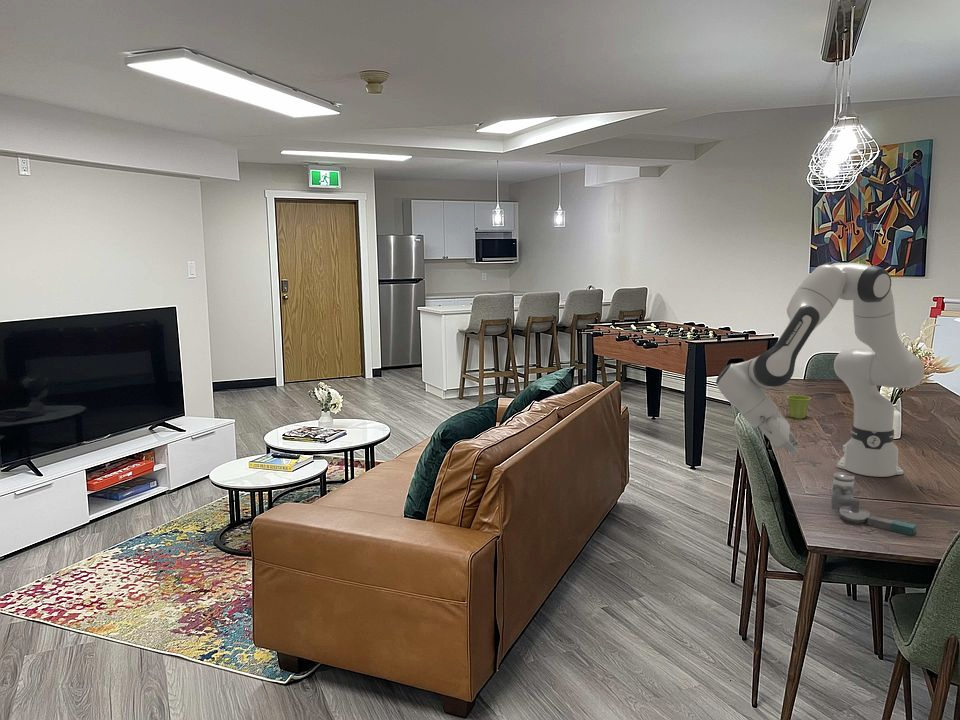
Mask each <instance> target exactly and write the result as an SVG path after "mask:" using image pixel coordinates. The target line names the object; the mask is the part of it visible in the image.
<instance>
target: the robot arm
mask: <svg viewBox="0 0 960 720" xmlns="http://www.w3.org/2000/svg"><path fill="white" fill-rule="evenodd" d="M891 287H892V277H891V276H890V273H889V272H888V271H887V270H886V269H884V268H883V267H880V266H878V265H869V264H864V263H861V262H839V261H830V262H826V263H823V264H820V265H818V266H817V267H816V268H814V270H812V271H811V272H810V274H809V275H807V276H806V278H805V279H804V280H803V281H802V282H801V283H800V285H799V286H798V288H797V289H796V290H795V292H794V294H792V296H791V299H790V301H789V302H788V305H787V308H786V315H787V317H788V319H789V322H788V324H787V326H786V327H785V329H784V331H783V332H782V334H781V335H780V337H779V338H778V340H777V342H776V343H775V344H774V345H773V346H772V347H771V348H769V349H767V350H765V351H764V352H762V353H761V354H759V355H758V356H756V357H754V358H751V359H749V360H748V359H747V360H746V361H742V362H741V361H740V362H738V363H729V364H727V365H726V366H725V367H724V368H723V369H722V370H721V372H720V373H719V375H718V376H717V377H716V382H715V384H716V387H717V388H718V390H719V392H720V393H721V394H722V396H723V397H724V398H725V399H726V401H728V402H729V403H730V404H731V405H732V406H733V407H735V408H737V410H738V411H739V413H740V415H741V416H742V417H743V418H744V419H745V420H746V421H747V422H748V423H749V425H751V426H752V427H753V428H754V429H755V428H757V427H758V428H760V430H761V431H762V434H764V435H765V437H766V438H767V439H768V440H769V441H770V442H771V443H772V445H774V447H775V448H776V449H778V450H780V449H782V448H783V449H784V450H785V451H787V452H788V453H790V455H792V456H793V457H797V456H798V455H799V450H798V449H797V447H799V445H800V441H798V440H797V439H796V437H795V436H794V434H793V433H792V431H791V425H790V423H789V422H788V420H787V419H786V418H785V416H783V414H782V413H781V412H780V411H779V410H778V409H779V406H777V404H776V403H775V402H774V401H773V400H772V399H770V398H769V397H768V395H767V394H766V391H767V390H768V389H771V388H775V387H781V386H783V385H784V384H787V383H788V382H789V381H790V380H791V378H792V377H793V375H794V371H795V365H796V362H797V361H796V360H797V357H798V355H799V354H800V351H801V350H802V348H803V346H804V345H805V344H806V342H807V341H808V339H809V338H810V336H811V334H812V333H813V331H814V330H816V328H817V327H819V326H820V325H821V324H822V323H823V322H824V321H825V319H826V318H827V317H828V316H829V314H830V313H832V310H833V309H834V307H835V306H836V304H837V302H838V301H839V300H844V301H852V303H853V304H852V305H853V306H852V308H853V309H852V311H853V325H854V334H855V336H856V338H857V339H858V340H859V341H860V342H861V343H863V344H864V345H866V346H868V347H869V348H870V349H864V348H853V349H852V348H849V349H843V350H841V351H840V352H838V354H837V355H836V356H835V358H834V361H833V370H834V372H835V374H836V376H837V377H838V379H840V380H841V381H842V382H843V383H844V384H845V385H846V386H847V388H848V390H849V392H850V394H851V397H852V401H853V425H851V429H850V433H851V434H850V437H851V438H850V439H849V440H848V441H847V442H845V444H843V445H842V452H844V453H843V456H842V457H841V458H840V459H839V461H838V462H837V463H836V467H837V468H839V469H842V470H845V471H849V472H851V473H852V474H853V473H854V474H856V475H857V474H858V475H861V476H867V477H880V478H882V477H883V478H886V477H891V476H892V477H893V476H896V475H904V470H903V469H902V467H901V468H900V467H899V465H898V464H899V463H898V462H899V459H898V457H899V448H898V447H897V445H895V443H894V439H895V430H894V428H893V427H894V418H895V417H894V416H895V407H894V405H893V403H892V402H891V401H890V399H888V398H887V397H885V396H883V395H882V394H881V392H880V391H879V390H878V386H879V387H884V388H885V387H886V388H894V389H908V388H915V387H916V386H918V385H919V384H920V383H921V381H922V380H923V378H924V374H925V366H924V364H923V361H922V360H921V359H920V358H919V356H917V355H915V354H913V353H912V352H911V351H910V350H909V349H908V348H907V347H906V346H905V344H904V343H903V342H902V340H901V338H900V337H899V334H898V331H897V324H896V316H895V315H896V314H895V312H896V311H895V303H894V302H895V301H894V295H893V291H892V288H891Z"/></svg>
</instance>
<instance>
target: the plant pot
mask: <svg viewBox="0 0 960 720" xmlns="http://www.w3.org/2000/svg"><path fill="white" fill-rule="evenodd" d="M786 398H787V401H788V409H789V412H788V413H789V417H790V418H794V419H796V420H797V419H801V420H802V419H806V417H807V412H808V408H809V403H810V401H811V400H812V398H811V397H810V396H806V395H799V394H798V395H797V394H796V395H787V396H786Z"/></svg>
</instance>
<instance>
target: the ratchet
mask: <svg viewBox="0 0 960 720" xmlns="http://www.w3.org/2000/svg"><path fill="white" fill-rule="evenodd" d="M860 503H861V501H860V499H858V498H854V499H852V498H851V506H843V507H841V508H840V509H839V513H838V514H839V515H838V517H839V518H840V519H841V520H840V519H839V520H840V521H842V522H844V523H846V524H850V525H855V524H856V526H863V525H862V524H865V525H867V524H868V525H867V526H870V525H871V526H872V527H875V526H876V527H875V528H879V527H880V529H884V530H886V531H887V530H888V531H890V532H894V533H899V534H902V535H903V534H904V535H908V536H911V537H912V536H914V535H915V534H916V533H917V524H914V523H911V522H910V523H909V522H904V521H901V520H897V519H888V518H883V517H879V516H875V515H871V513H870V511H869V510H867V508H866V509H865V508H862V507H860Z"/></svg>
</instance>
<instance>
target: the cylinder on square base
mask: <svg viewBox="0 0 960 720" xmlns="http://www.w3.org/2000/svg"><path fill="white" fill-rule="evenodd" d="M832 478H833V479H832V488H831V499H830V502H831V503H830V504H831V505H832V506H831V509H836V508H839V509H838V510H840V508H841V507H843V506H851V498H852V499H855V496H854V490H855V480H856V479H855V478H856V477H855V475H854V474H853V473H849V472H845V471H844V472H842V471H838V472H833V475H832Z"/></svg>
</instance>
